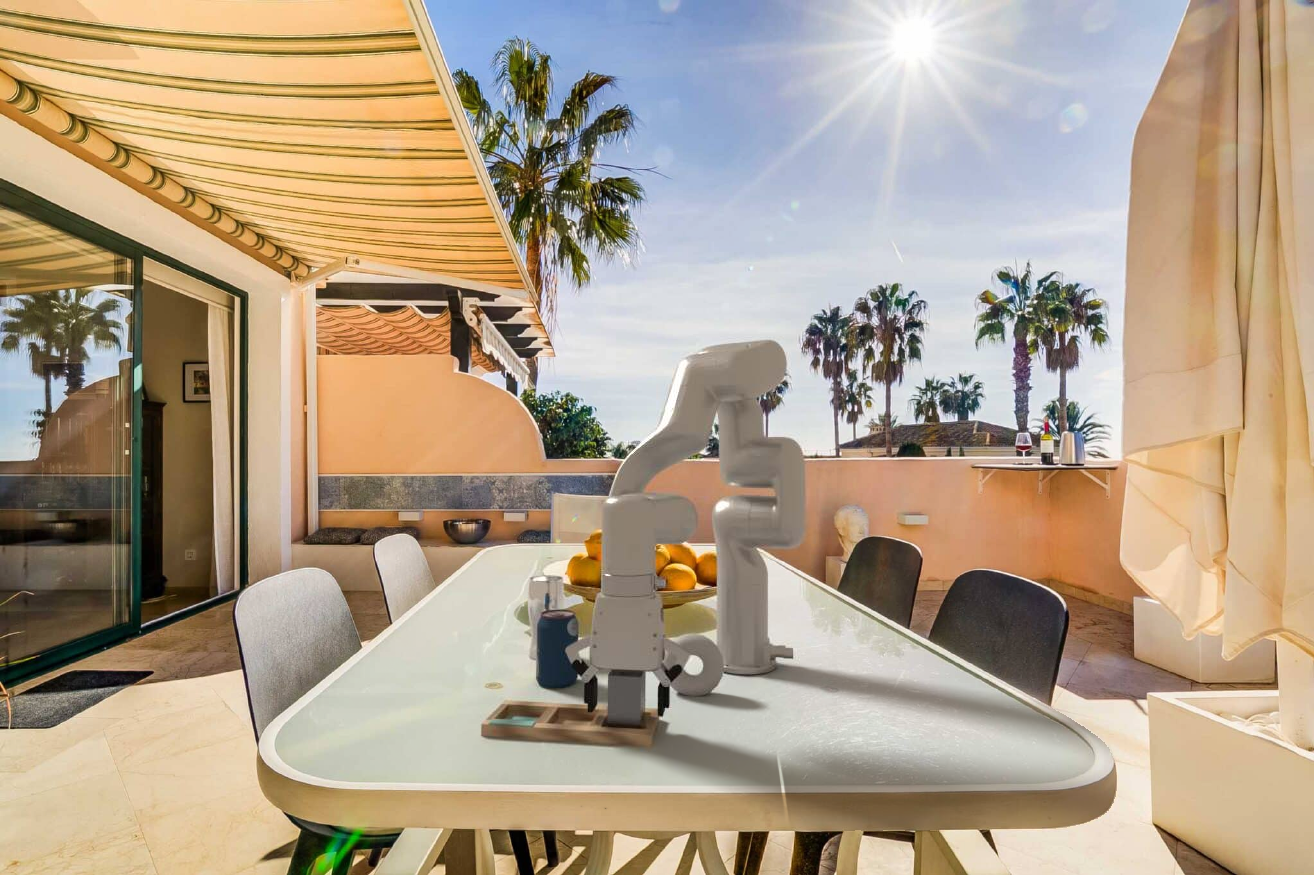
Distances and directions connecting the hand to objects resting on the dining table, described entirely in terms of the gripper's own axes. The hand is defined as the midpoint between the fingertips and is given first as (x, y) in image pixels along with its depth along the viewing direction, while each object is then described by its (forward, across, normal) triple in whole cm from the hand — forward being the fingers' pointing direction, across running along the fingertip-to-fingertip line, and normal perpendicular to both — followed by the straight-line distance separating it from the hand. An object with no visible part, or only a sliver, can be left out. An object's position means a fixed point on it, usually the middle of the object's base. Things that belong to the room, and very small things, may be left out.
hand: (626, 710), depth 88 cm
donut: (+3, -8, -16) cm, 18 cm away
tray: (+3, +8, 0) cm, 8 cm away
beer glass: (+3, +22, -34) cm, 41 cm away
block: (+3, 0, 0) cm, 3 cm away
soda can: (+3, +15, -18) cm, 24 cm away
